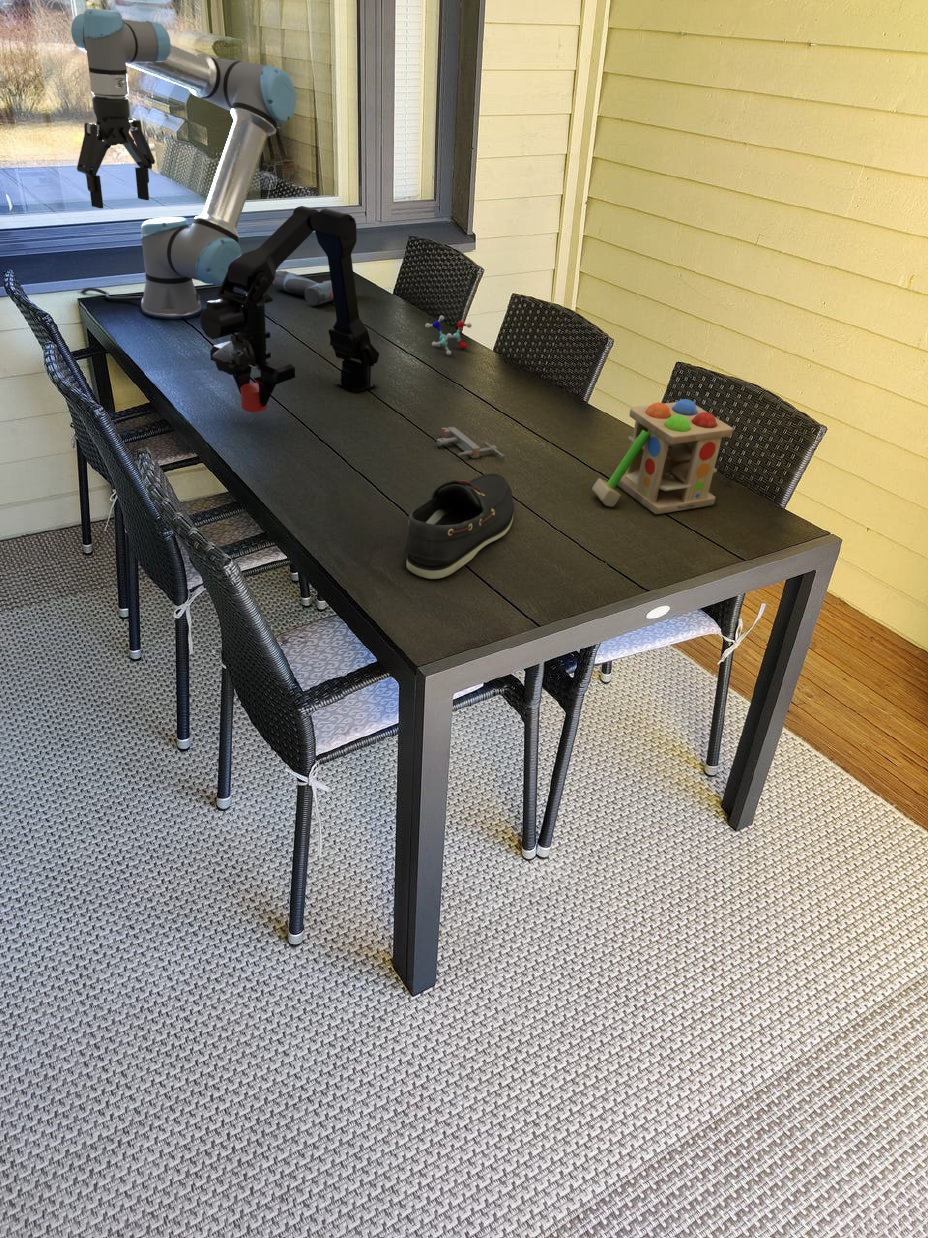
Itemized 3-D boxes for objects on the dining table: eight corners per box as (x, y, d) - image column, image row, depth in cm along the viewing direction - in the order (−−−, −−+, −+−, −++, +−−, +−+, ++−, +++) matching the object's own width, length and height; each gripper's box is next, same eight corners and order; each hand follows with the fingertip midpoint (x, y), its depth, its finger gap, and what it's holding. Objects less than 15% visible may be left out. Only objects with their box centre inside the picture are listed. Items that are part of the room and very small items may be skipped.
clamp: (428, 429, 204) (470, 423, 208) (427, 439, 205) (469, 432, 209) (464, 459, 193) (507, 451, 198) (463, 469, 194) (506, 461, 199)
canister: (244, 401, 204) (243, 381, 202) (269, 403, 204) (268, 384, 202) (239, 410, 200) (238, 390, 197) (263, 413, 200) (263, 393, 197)
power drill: (307, 279, 292) (360, 295, 284) (264, 292, 279) (319, 308, 271) (307, 261, 289) (361, 276, 281) (263, 272, 276) (319, 289, 268)
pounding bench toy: (617, 521, 181) (635, 431, 171) (577, 488, 192) (591, 401, 182) (715, 504, 191) (737, 418, 181) (672, 473, 201) (691, 389, 191)
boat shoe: (539, 516, 182) (544, 464, 176) (440, 585, 158) (443, 528, 152) (480, 497, 187) (483, 446, 182) (376, 561, 163) (376, 505, 158)
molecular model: (465, 347, 244) (452, 307, 242) (431, 360, 247) (418, 321, 246) (479, 347, 254) (467, 309, 253) (447, 360, 258) (434, 323, 256)
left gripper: (76, 101, 195) (89, 213, 207) (166, 95, 214) (173, 198, 226) (49, 96, 198) (64, 207, 210) (140, 90, 217) (149, 192, 229)
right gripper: (186, 324, 191) (192, 399, 200) (254, 349, 183) (257, 427, 192) (229, 312, 199) (233, 385, 208) (296, 336, 190) (297, 411, 199)
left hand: (121, 203), depth 218 cm, fingers open, 13 cm apart
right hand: (254, 402), depth 201 cm, fingers closed on canister, 5 cm apart
